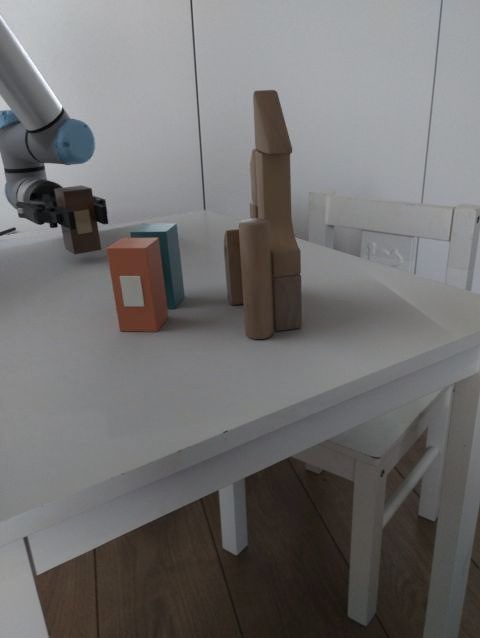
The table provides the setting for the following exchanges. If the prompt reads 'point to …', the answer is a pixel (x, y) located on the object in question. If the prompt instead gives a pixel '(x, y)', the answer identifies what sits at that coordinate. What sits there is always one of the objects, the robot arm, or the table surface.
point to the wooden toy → (266, 232)
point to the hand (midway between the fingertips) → (88, 218)
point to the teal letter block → (166, 258)
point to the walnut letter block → (79, 219)
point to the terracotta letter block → (138, 284)
